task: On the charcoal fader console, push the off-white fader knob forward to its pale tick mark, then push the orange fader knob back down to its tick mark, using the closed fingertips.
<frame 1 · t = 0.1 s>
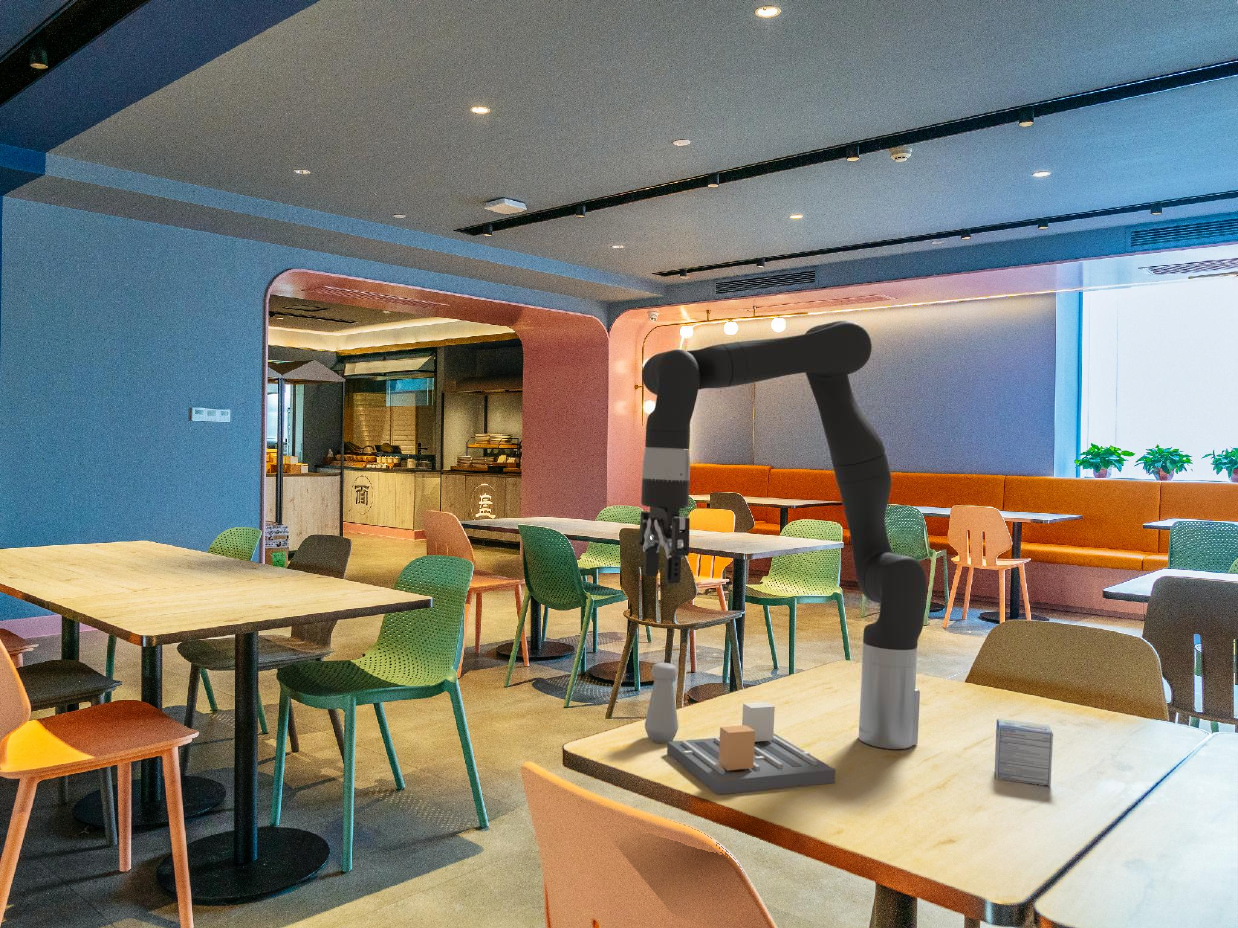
hand: (661, 579, 139), 29 cm above the table, tool pointing down, fingers open, 8 cm apart
fader 2: (758, 721, 146), point 5 cm above the table, slide at 0.0 cm
salt shaker: (661, 740, 151), on the table
fader 1: (736, 747, 133), point 5 cm above the table, slide at 11.0 cm
console: (747, 767, 139), on the table
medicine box: (1021, 780, 140), on the table
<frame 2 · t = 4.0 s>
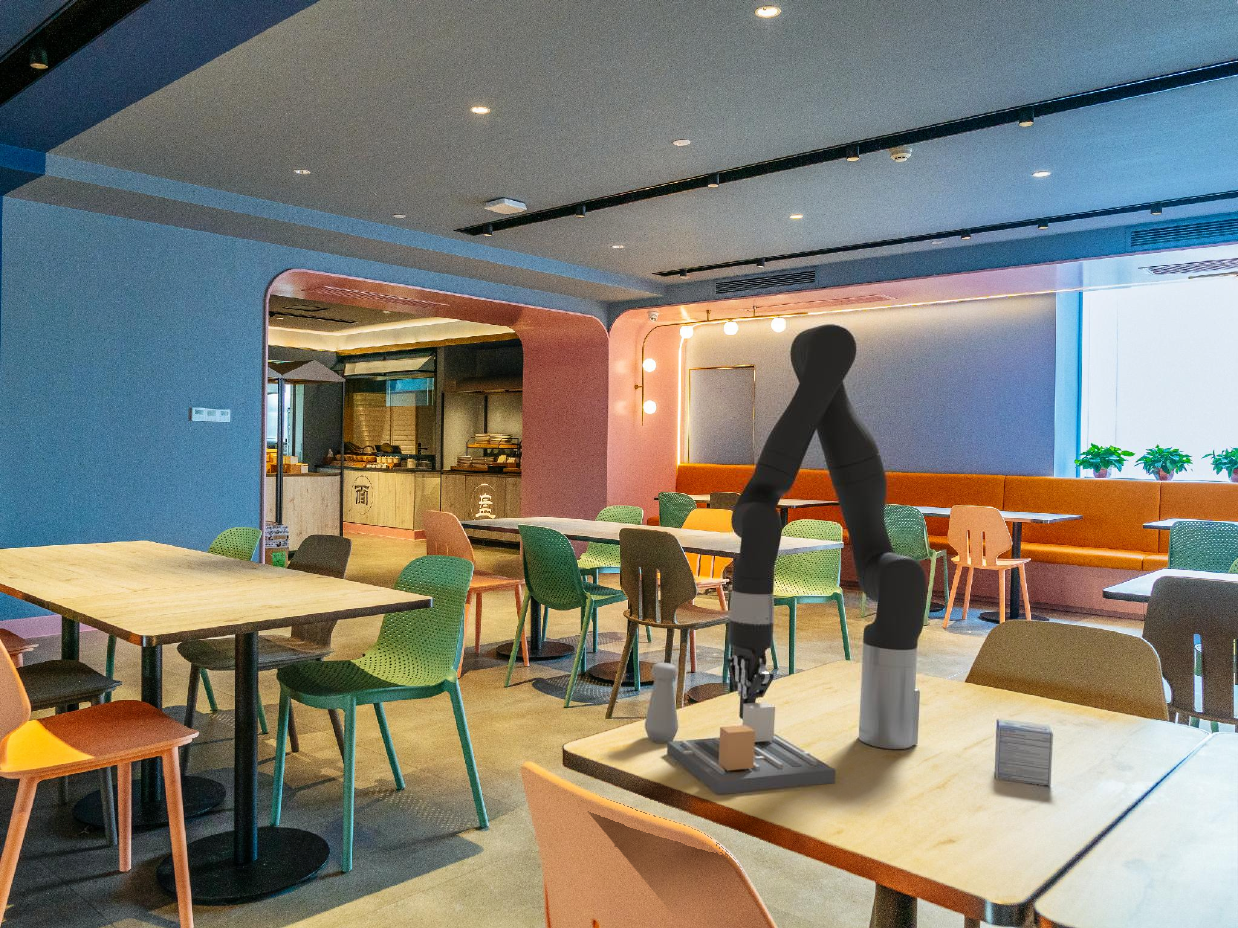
hand: (746, 719, 150), 4 cm above the table, tool pointing down, fingers closed
fader 2: (758, 721, 146), point 5 cm above the table, slide at 0.2 cm, touching gripper
everything else where it was.
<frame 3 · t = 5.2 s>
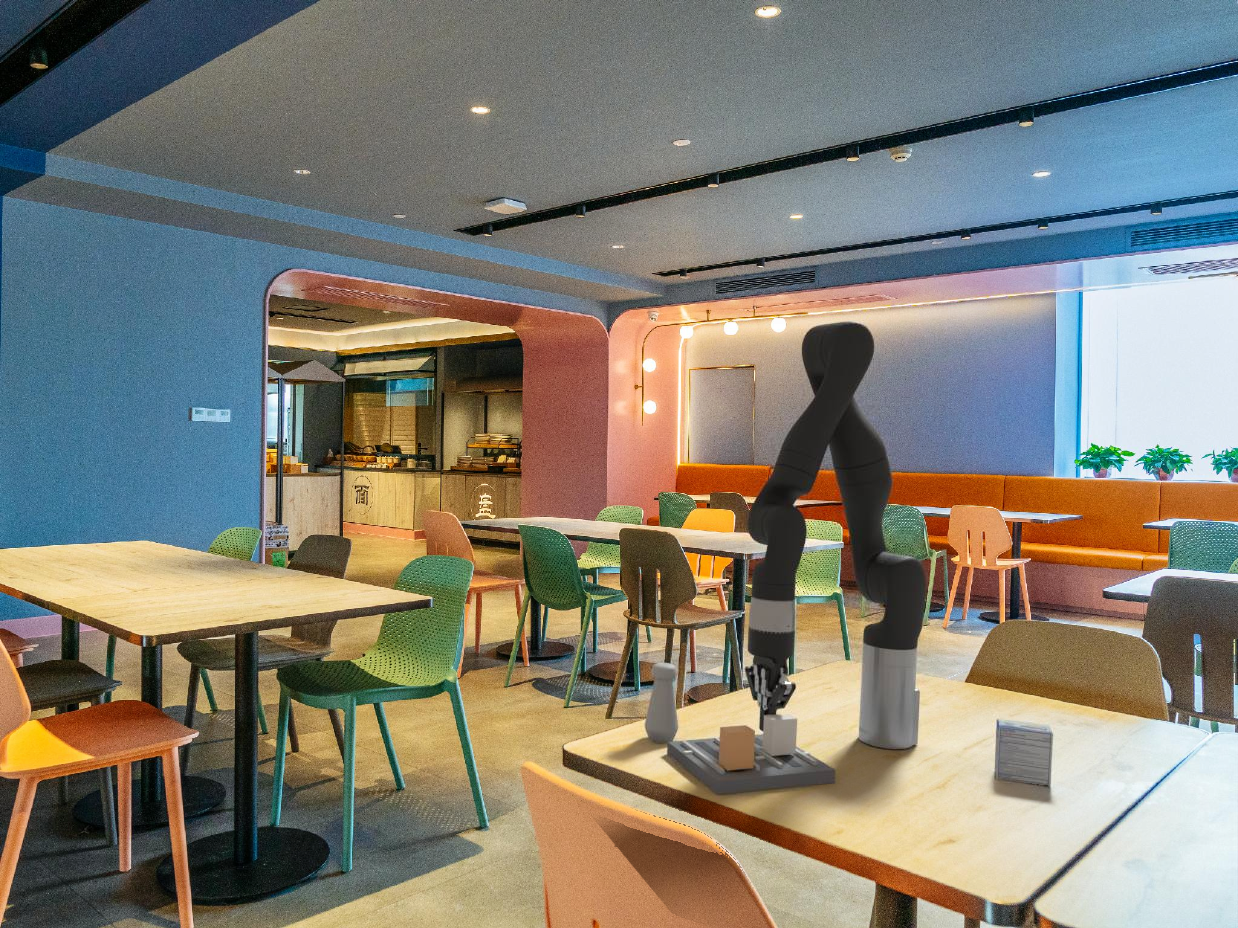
hand: (767, 731, 144), 4 cm above the table, tool pointing down, fingers closed
fader 2: (779, 734, 140), point 5 cm above the table, slide at 6.9 cm, touching gripper
everything else where it was.
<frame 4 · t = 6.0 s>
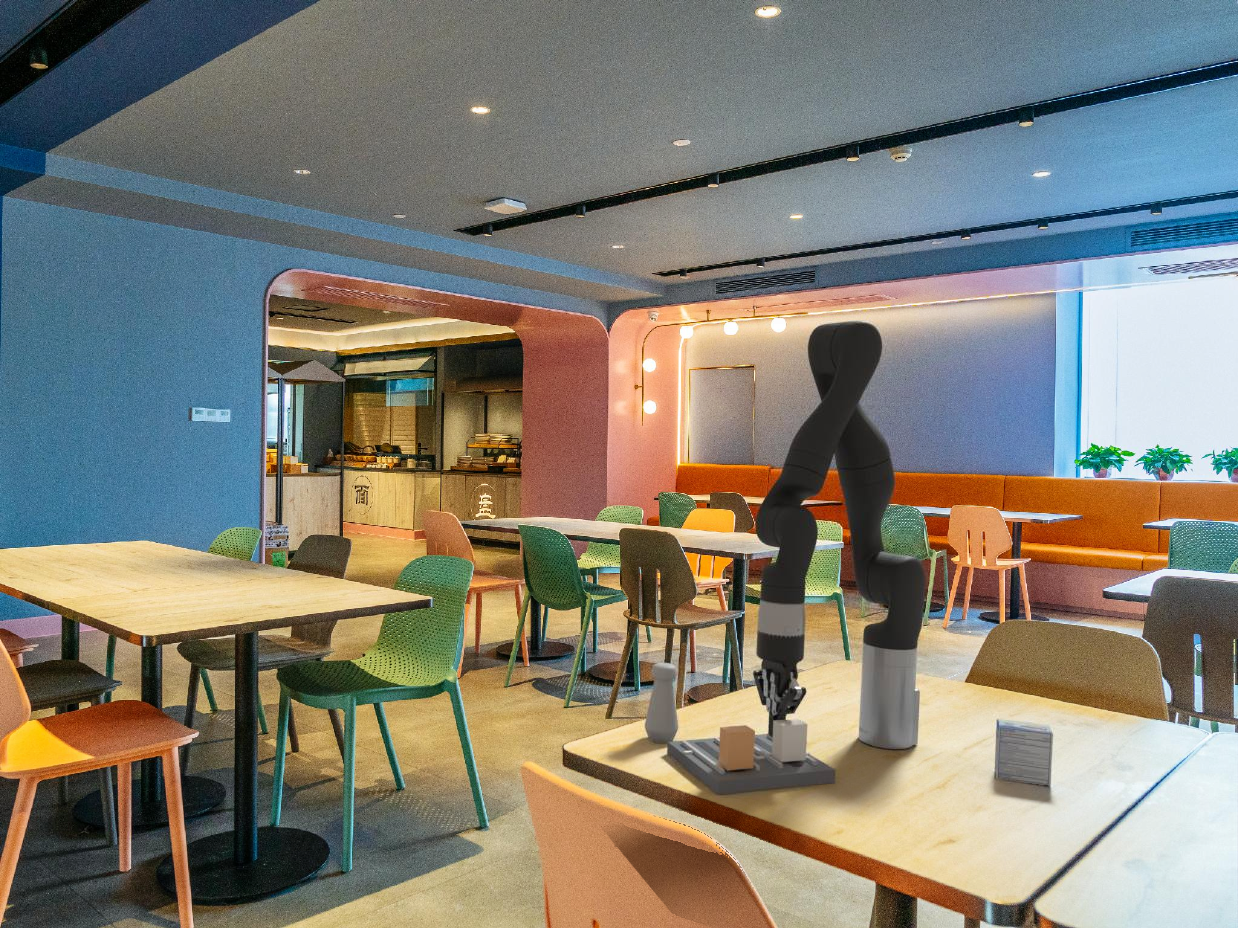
hand: (776, 736, 141), 4 cm above the table, tool pointing down, fingers closed
fader 2: (789, 739, 137), point 5 cm above the table, slide at 9.8 cm, touching gripper
everything else where it was.
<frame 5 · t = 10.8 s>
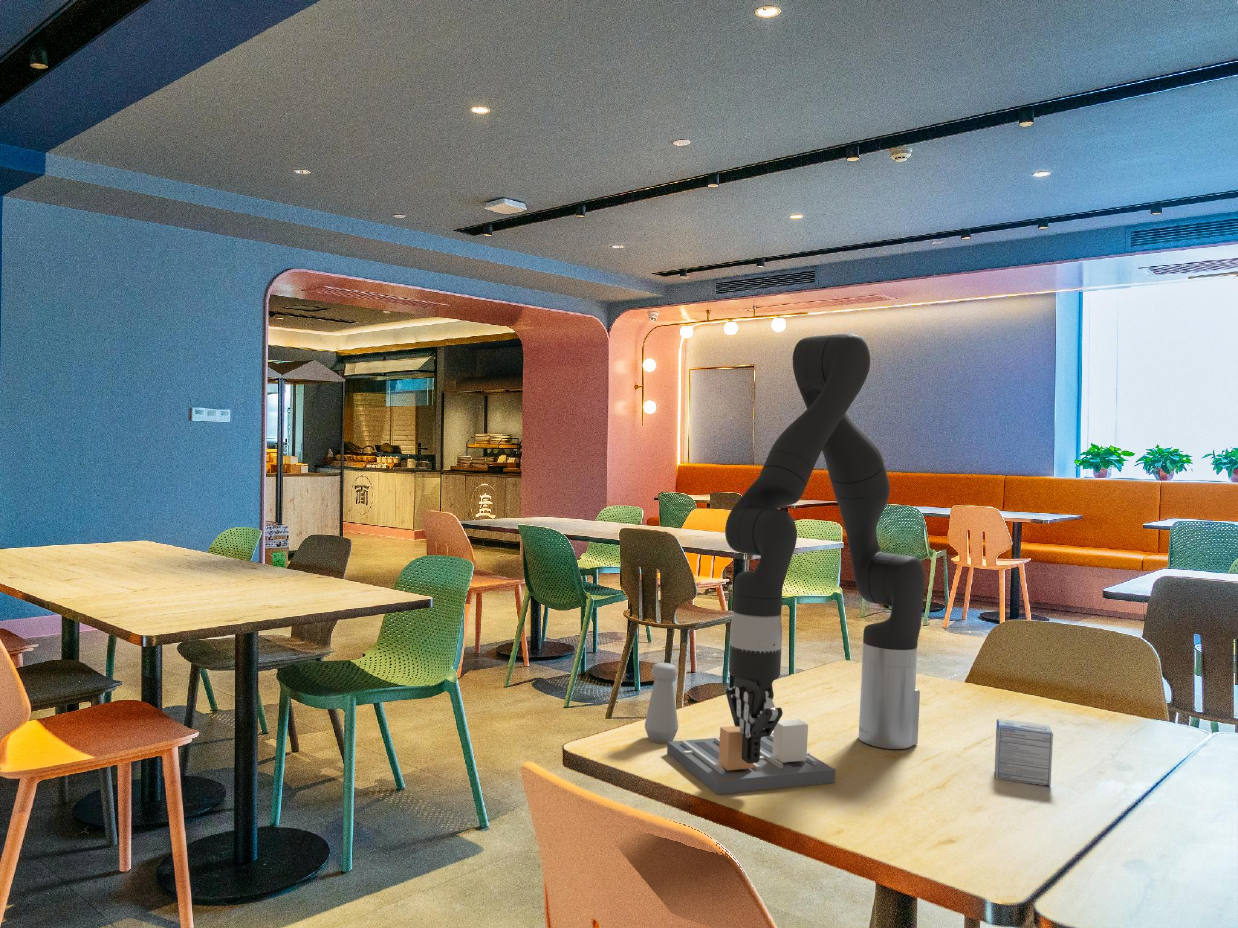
hand: (750, 761, 129), 4 cm above the table, tool pointing down, fingers closed
fader 2: (790, 740, 137), point 5 cm above the table, slide at 9.9 cm
fader 1: (736, 747, 133), point 5 cm above the table, slide at 11.0 cm, touching gripper
everything else where it was.
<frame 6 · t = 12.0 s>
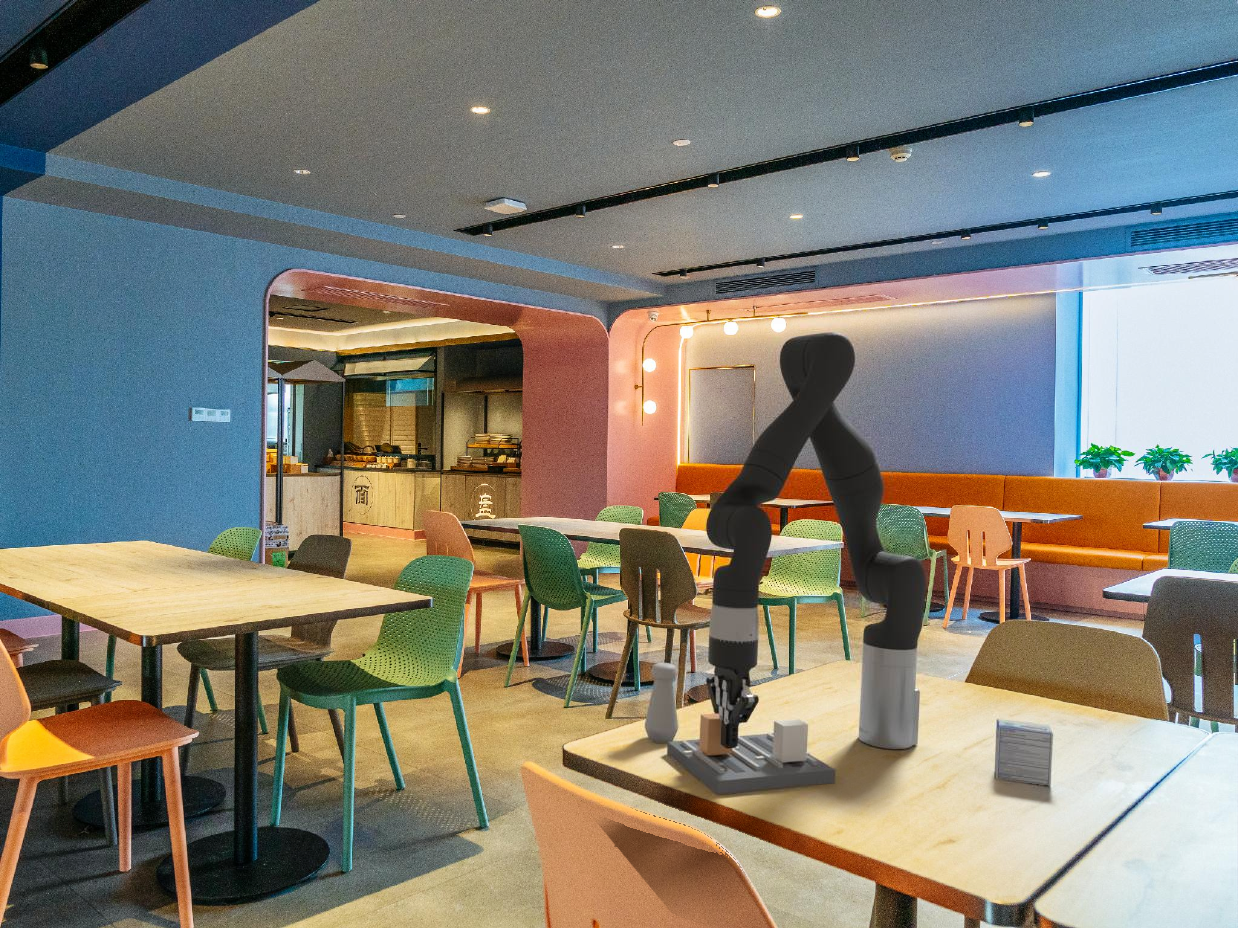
hand: (728, 746, 135), 4 cm above the table, tool pointing down, fingers closed
fader 1: (716, 733, 139), point 5 cm above the table, slide at 4.3 cm, touching gripper
everything else where it was.
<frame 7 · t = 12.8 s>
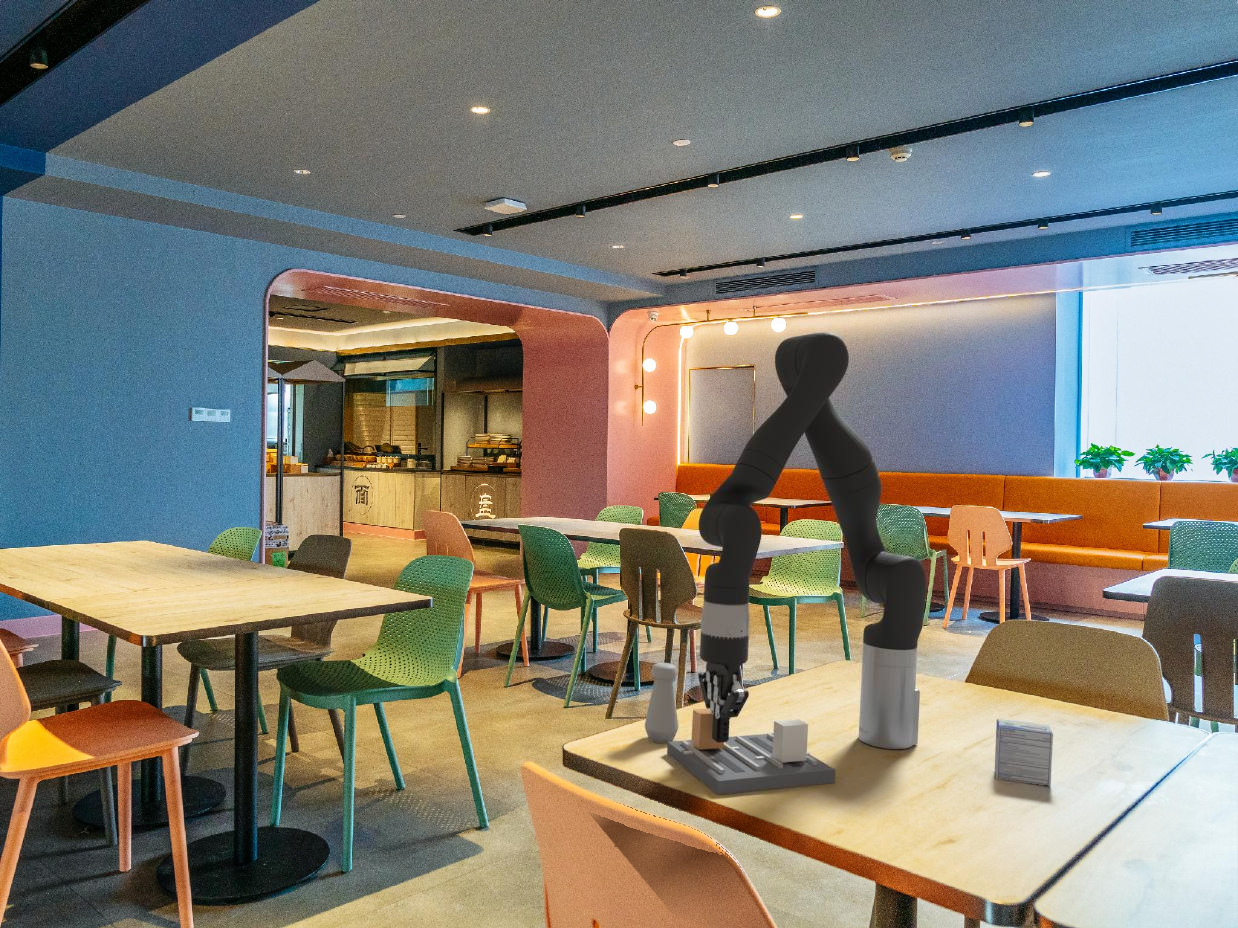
hand: (720, 740, 138), 4 cm above the table, tool pointing down, fingers closed
fader 1: (708, 728, 141), point 5 cm above the table, slide at 1.5 cm, touching gripper
everything else where it was.
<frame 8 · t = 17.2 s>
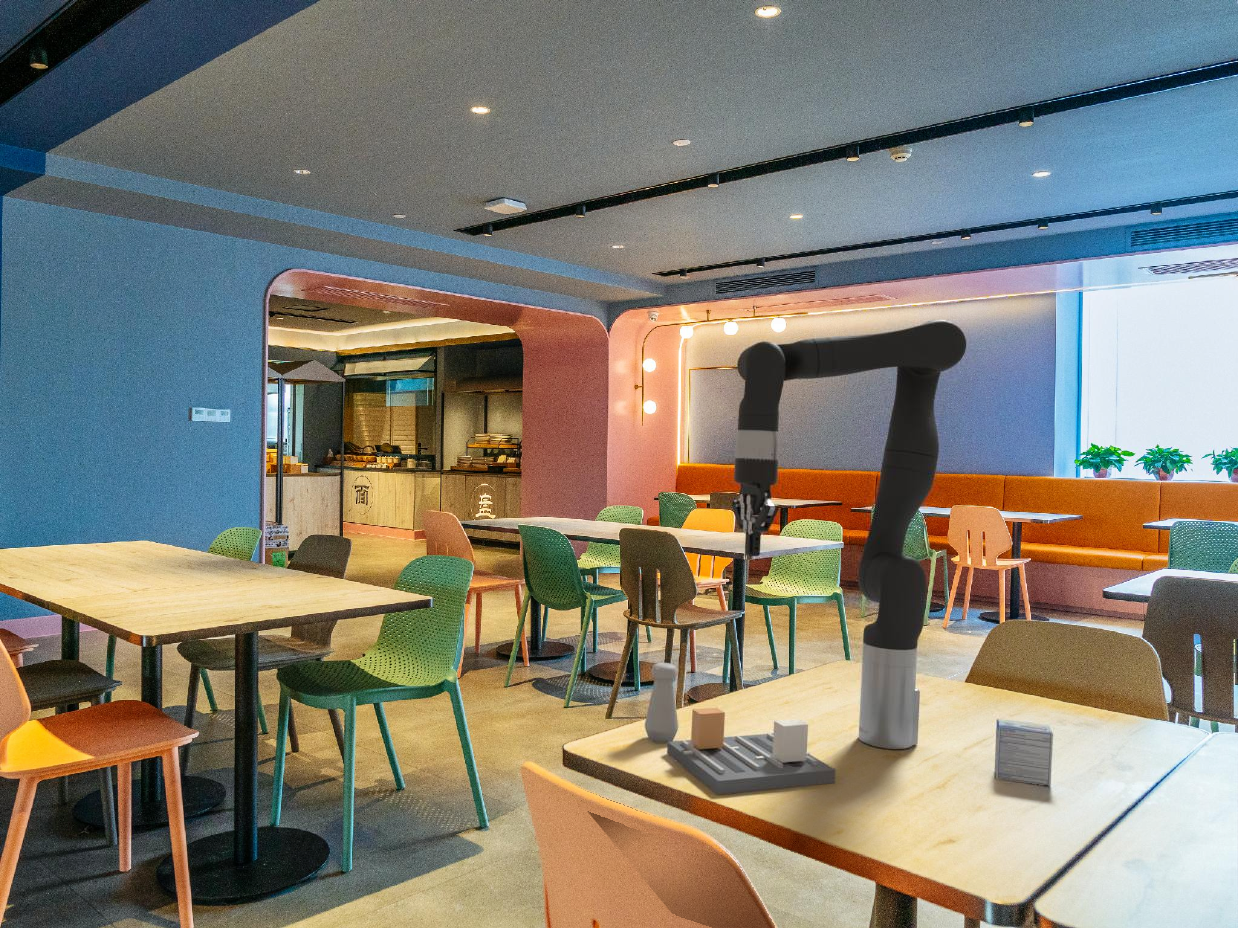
hand: (752, 555, 154), 32 cm above the table, tool pointing down, fingers closed
fader 1: (707, 728, 142), point 5 cm above the table, slide at 1.3 cm
everything else where it was.
at the end: fader 2 slide at 9.9 cm; fader 1 slide at 1.3 cm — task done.
